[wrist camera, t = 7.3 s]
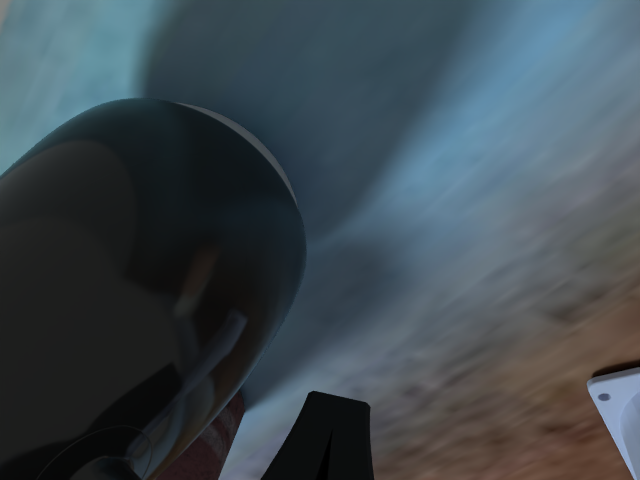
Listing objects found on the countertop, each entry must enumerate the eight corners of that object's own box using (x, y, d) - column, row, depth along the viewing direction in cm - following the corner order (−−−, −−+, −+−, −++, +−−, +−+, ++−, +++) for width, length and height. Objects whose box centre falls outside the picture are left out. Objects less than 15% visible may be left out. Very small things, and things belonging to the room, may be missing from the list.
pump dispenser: (333, 293, 23) (207, 741, 10) (134, 272, 25) (-175, 627, 12) (328, 71, 17) (40, 461, 5) (72, 67, 19) (-615, 334, 7)
